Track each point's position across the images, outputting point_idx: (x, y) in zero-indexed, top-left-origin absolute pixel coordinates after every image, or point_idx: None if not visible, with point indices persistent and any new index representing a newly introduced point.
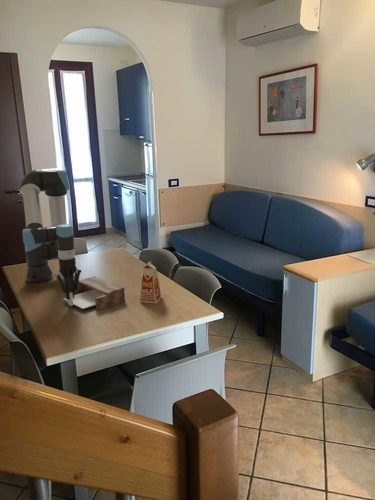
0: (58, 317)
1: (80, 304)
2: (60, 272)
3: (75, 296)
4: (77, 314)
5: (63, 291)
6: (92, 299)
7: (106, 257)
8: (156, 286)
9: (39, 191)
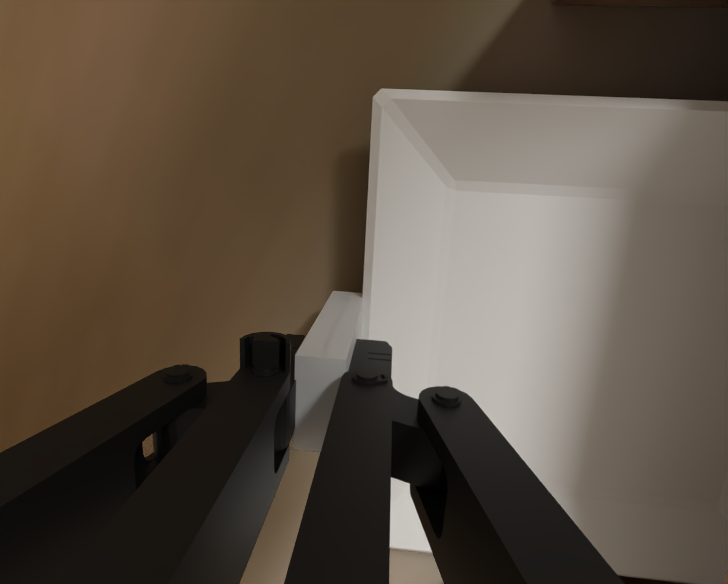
0: None
1: (446, 371)
2: None
3: (563, 137)
4: (297, 496)
5: (145, 469)
6: (646, 357)
7: None
8: None
9: None
